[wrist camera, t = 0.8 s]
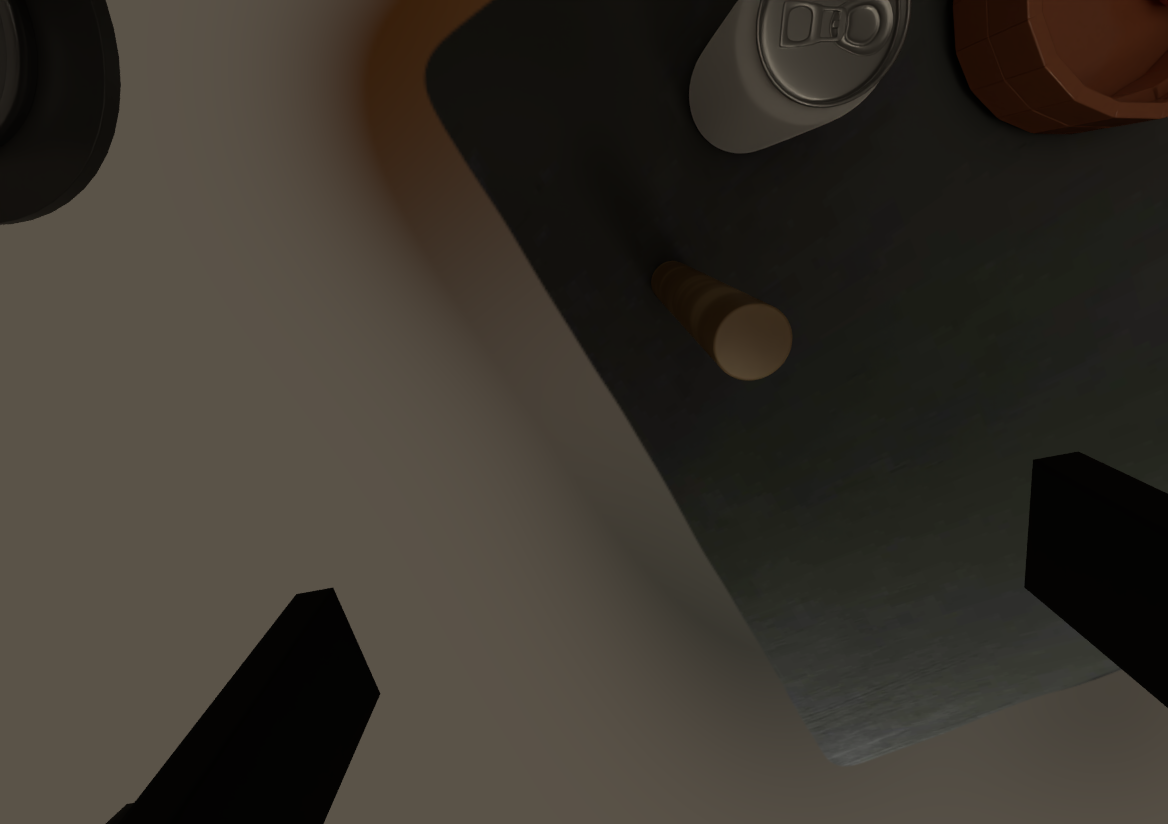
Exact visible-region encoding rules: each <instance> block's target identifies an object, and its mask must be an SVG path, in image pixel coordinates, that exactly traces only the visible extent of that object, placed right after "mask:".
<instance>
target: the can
mask: <svg viewBox="0 0 1168 824" xmlns="http://www.w3.org/2000/svg"><path fill="white" fill-rule="evenodd" d="M910 15H911V0H738V1H737V2H736V4H735V5H734V7H733V8H732V9H731V11H730V12H729V14H728V15H727V17H726V18H725V20H724V21H723V22H722V24H721V25H720V27H719V28H718V30H717V31H716V33H715V34H714V35H713V37H712V38H711V40H710V41H709V43H708V44H707V46H706V47H705V49H704V50H703V52H702V54H701V55H700V57H699V59H698V61H697V63H696V65H695V67H694V70H693V73H692V77H691V81H690V87H689V103H690V110H691V114H692V117H693V120H694V122H695V124H696V126H697V128H698V130H699V131H700V133H701V134H702V135H703V137H704V138H705V139H706V140H707V141H708V142H710V143H711V144H712V145H714V146H715V147H717V148H719V149H721V150H724V151H727V152H731V153H750V152H754V151H758V150H761V149H764V148H766V147H769V146H772V145H774V144H777V143H779V142H782V141H784V140H787V139H790V138H792V137H795V136H797V135H800V134H802V133H805V132H807V131H810V130H812V129H815V128H817V127H819V126H822V125H824V124H827V123H829V122H831V121H833V120H835V119H837V118H839V117H841V116H843V115H844V114H846V113H848V112H849V111H850V110H852V109H853V108H855V107H856V106H857V105H858V104H860V103H861V102H862V101H863V100H864V99H865V98H866V97H867V96H868V95H869V94H870V93H871V91H872V90H873V89H874V88H875V86H876V85H877V84H878V82H879V81H880V80H881V79H882V78H883V77H884V75H885V74H886V73H887V72H888V70H889V69H890V68H891V66H892V65H893V63H894V62H895V60H896V58H897V56H898V54H899V52H900V50H901V48H902V46H903V43H904V41H905V38H906V35H907V31H908V27H909V22H910Z"/></svg>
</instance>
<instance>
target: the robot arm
mask: <svg viewBox="0 0 1168 824" xmlns="http://www.w3.org/2000/svg"><path fill="white" fill-rule="evenodd" d="M37 71H38V61H37V48H36V41H35V35H34V31H33V27H32V22H31V19H30V16H29V13H28V9H27V6H26V4H25V1H24V0H0V147H1V146H3V145H4V144H5V143H6V142H8V141H9V140H10V139H11V138H12V137H13V136H14V135H15V134H16V133H17V131H18V130H19V129H20V127H21V126H22V124H23V123H24V121H25V119H26V117H27V115H28V113H29V111H30V108H31V105H32V103H33V99H34V95H35V91H36V84H37ZM1024 587H1025V588H1026V589H1027V590H1028V591H1030V592H1031V593H1032V594H1033V595H1034V596H1036V597H1037V598H1038V599H1039V600H1040V601H1041V602H1043V603H1044V604H1045V605H1046V606H1047V607H1049V608H1050V609H1051V610H1052V611H1053V612H1055V613H1056V614H1057V615H1058V616H1059V617H1060V618H1062V619H1063V620H1064V621H1065V622H1066V623H1068V624H1069V625H1070V626H1071V627H1072V628H1074V629H1075V630H1076V631H1077V632H1078V633H1079V634H1081V635H1082V636H1083V637H1084V638H1085V639H1087V640H1088V641H1089V642H1090V643H1091V644H1093V645H1094V646H1095V647H1096V648H1097V649H1098V650H1100V651H1101V652H1102V653H1103V654H1104V655H1106V656H1107V657H1108V658H1109V659H1110V660H1112V661H1113V662H1114V663H1115V664H1116V665H1117V666H1119V667H1120V668H1121V669H1122V670H1123V671H1125V672H1126V673H1127V674H1128V675H1129V676H1131V677H1132V678H1133V679H1134V680H1135V681H1136V682H1138V683H1139V684H1140V685H1141V686H1142V687H1144V688H1145V689H1146V690H1147V691H1148V692H1150V693H1151V694H1152V695H1153V696H1154V697H1156V698H1157V699H1158V700H1159V701H1160V702H1161V703H1163V704H1164V705H1165V706H1166V707H1167V708H1168V494H1167V493H1165V492H1163V491H1161V490H1159V489H1156V488H1154V487H1152V486H1150V485H1148V484H1146V483H1144V482H1142V481H1140V480H1137V479H1135V478H1133V477H1131V476H1129V475H1127V474H1125V473H1123V472H1120V471H1118V470H1116V469H1114V468H1112V467H1110V466H1108V465H1106V464H1104V463H1101V462H1099V461H1097V460H1095V459H1093V458H1091V457H1089V456H1087V455H1085V454H1082V453H1080V452H1074V453H1068V454H1063V455H1057V456H1052V457H1046V458H1041V459H1035V460H1033V469H1032V484H1031V498H1030V513H1029V528H1028V542H1027V557H1026V571H1025V586H1024ZM379 695H380V692H379V690H378V687H377V686H376V683H375V681H374V679H373V676H372V674H371V672H370V670H369V667H368V665H367V663H366V660H365V658H364V656H363V654H362V651H361V649H360V647H359V645H358V643H357V640H356V638H355V636H354V634H353V631H352V629H351V627H350V624H349V622H348V620H347V618H346V615H345V613H344V611H343V609H342V606H341V605H340V602H339V600H338V598H337V595H336V593H335V591H334V589H333V588H328V589H323V590H317V591H312V592H306V593H301V594H296V595H295V597H294V598H293V599H292V601H291V602H290V603H289V604H288V606H287V607H286V608H285V610H284V611H283V612H282V614H281V615H280V616H279V617H278V619H277V620H276V621H275V622H274V624H273V625H272V626H271V628H270V629H269V630H268V631H267V633H266V634H265V635H264V637H263V638H262V639H261V641H260V642H259V643H258V644H257V646H256V647H255V648H254V649H253V651H252V652H251V654H250V655H249V656H248V657H247V659H246V660H245V661H244V662H243V664H242V665H241V666H240V668H239V669H238V670H237V671H236V673H235V674H234V675H233V676H232V678H231V679H230V680H229V682H228V683H227V684H226V686H225V687H224V688H223V689H222V691H221V692H220V693H219V695H218V696H217V697H216V698H215V700H214V701H213V702H212V704H211V705H210V706H209V707H208V709H207V710H206V711H205V713H204V714H203V715H202V716H201V718H200V719H199V720H198V722H197V723H196V724H195V725H194V727H193V728H192V730H191V731H190V732H189V733H188V735H187V736H186V737H185V738H184V740H183V741H182V742H181V744H180V745H179V746H178V747H177V749H176V750H175V751H174V752H173V754H172V755H171V756H170V758H169V759H168V760H167V761H166V763H165V764H164V766H163V767H162V768H161V769H160V771H159V772H158V773H157V774H156V776H155V777H154V778H153V780H152V781H151V782H150V783H149V785H148V786H147V787H146V789H145V790H144V791H143V792H142V794H141V795H140V796H139V798H138V799H137V800H136V801H135V803H131V804H126V805H125V807H123V808H122V809H121V810H120V811H119V812H118V813H117V814H116V815H115V816H114V817H112V818H111V819H110V820H109V821H108V822H107V823H106V824H324V821H325V819H326V817H327V814H328V812H329V810H330V808H331V805H332V803H333V801H334V798H335V796H336V794H337V792H338V789H339V787H340V785H341V782H342V780H343V778H344V775H345V773H346V771H347V769H348V766H349V764H350V761H351V760H352V757H353V754H354V753H355V750H356V748H357V746H358V743H359V741H360V739H361V737H362V734H363V732H364V729H365V727H366V725H367V723H368V721H369V718H370V716H371V714H372V711H373V709H374V707H375V705H376V702H377V700H378V698H379Z"/></svg>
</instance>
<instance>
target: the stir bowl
mask: <svg viewBox="0 0 1168 824" xmlns="http://www.w3.org/2000/svg"><path fill="white" fill-rule="evenodd" d="M953 4H954V5H953V18H954V35H955V51H956V55H957V58H958V60H959V63H960V65H961V68H962V70H963V73H964V75H965V78H966V80H967V83H968V85H969V88H970V90H971V91H972V92H973V93H974V94H975V95H976V96H977V97H978V99H979V100H980V101H981V102H982V103H983V104H984V105H985V106H986V107H987V108H988V109H989V110H990V111H991V112H992V113H993V114H994V115H995V116H996V117H997V118H998V119H1000V120H1002V121H1004V122H1007V123H1009V124H1011V125H1014V126H1016V127H1019V128H1021V129H1023V130H1026V131H1028V132H1030V133H1035V134H1075V133H1081V132H1087V131H1093V130H1098V129H1104V128H1110V127H1116V126H1122V125H1128V124H1133V123H1139V122H1145V121H1151V120H1157V119H1162V118H1165V117H1168V7H1167V6H1165V5H1163V4H1162V3H1161V2H1160V1H1159V0H953Z"/></svg>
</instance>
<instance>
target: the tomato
mask: <svg viewBox="0 0 1168 824" xmlns="http://www.w3.org/2000/svg"><path fill="white" fill-rule="evenodd" d="M1159 1H1160V2H1161V3H1162V4H1163V5H1165V6H1167V7H1168V0H1159Z"/></svg>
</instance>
